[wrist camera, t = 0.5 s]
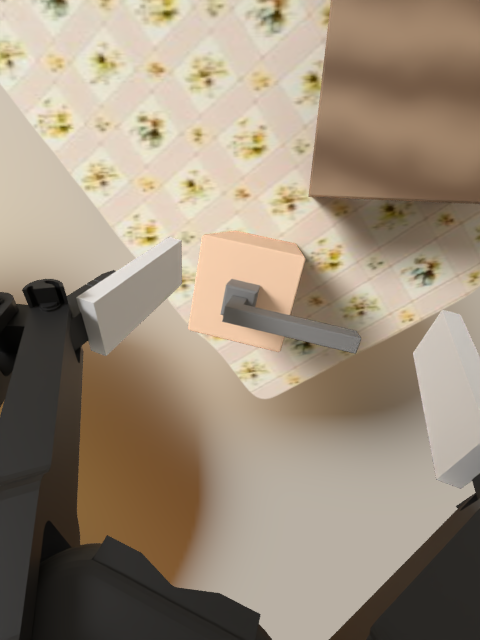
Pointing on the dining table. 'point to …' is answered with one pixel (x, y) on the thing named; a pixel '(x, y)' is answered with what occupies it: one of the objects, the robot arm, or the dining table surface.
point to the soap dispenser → (256, 294)
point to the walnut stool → (400, 102)
